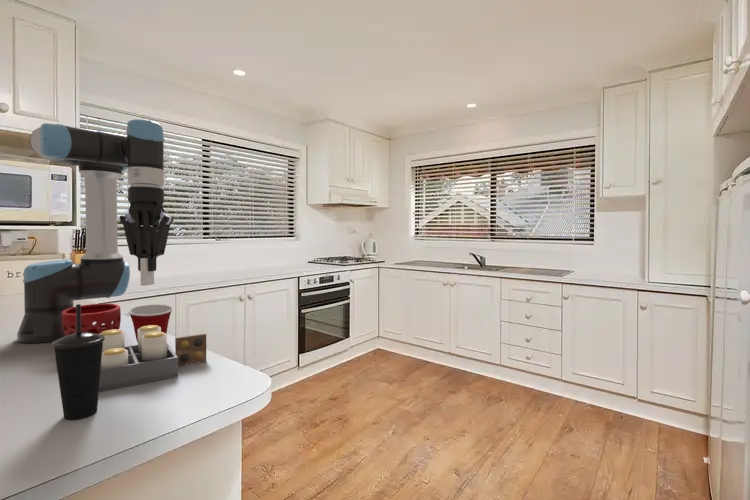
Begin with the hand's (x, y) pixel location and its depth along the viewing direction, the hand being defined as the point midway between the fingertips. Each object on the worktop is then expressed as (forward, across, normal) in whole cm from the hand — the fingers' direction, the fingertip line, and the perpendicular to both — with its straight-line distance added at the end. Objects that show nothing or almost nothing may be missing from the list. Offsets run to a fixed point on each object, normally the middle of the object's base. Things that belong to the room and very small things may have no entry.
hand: (147, 284), depth 97 cm
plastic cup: (+20, -8, +11) cm, 24 cm away
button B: (+16, 0, 0) cm, 16 cm away
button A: (+16, -5, -5) cm, 18 cm away
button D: (+16, +5, -5) cm, 18 cm away
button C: (+19, 0, -10) cm, 21 cm away
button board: (+20, 0, -5) cm, 21 cm away
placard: (+20, +9, +4) cm, 22 cm away
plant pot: (+20, -23, +8) cm, 32 cm away
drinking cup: (+20, +6, -25) cm, 33 cm away
